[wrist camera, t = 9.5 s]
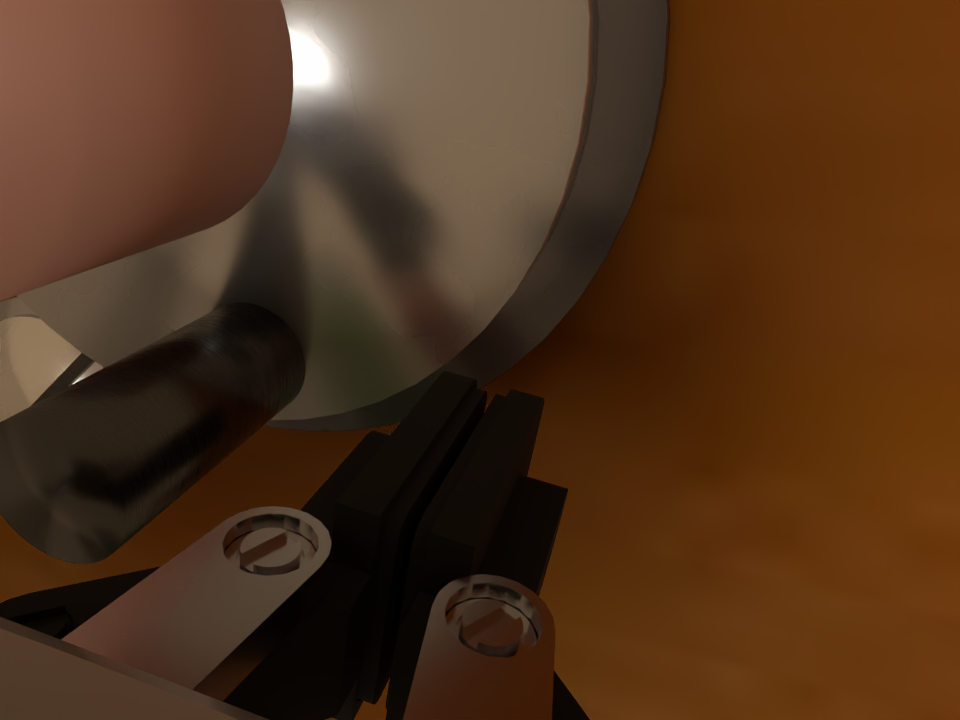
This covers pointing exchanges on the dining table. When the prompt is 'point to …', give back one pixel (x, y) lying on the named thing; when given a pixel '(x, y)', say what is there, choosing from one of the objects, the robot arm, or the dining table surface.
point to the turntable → (315, 258)
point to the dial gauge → (34, 359)
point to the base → (564, 211)
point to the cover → (132, 125)
